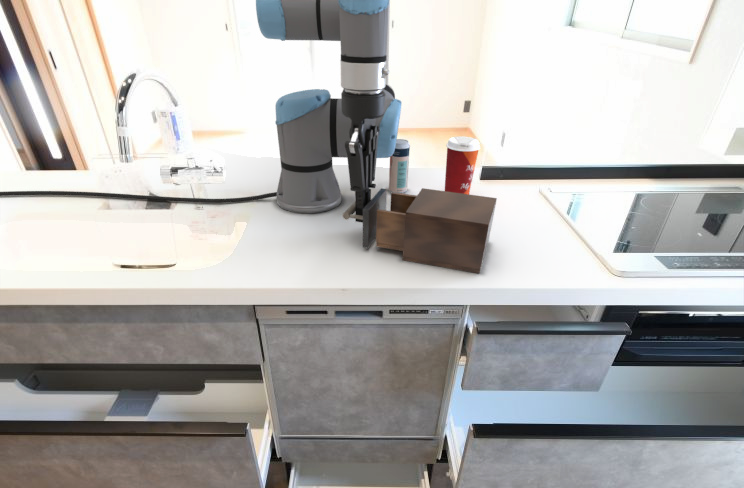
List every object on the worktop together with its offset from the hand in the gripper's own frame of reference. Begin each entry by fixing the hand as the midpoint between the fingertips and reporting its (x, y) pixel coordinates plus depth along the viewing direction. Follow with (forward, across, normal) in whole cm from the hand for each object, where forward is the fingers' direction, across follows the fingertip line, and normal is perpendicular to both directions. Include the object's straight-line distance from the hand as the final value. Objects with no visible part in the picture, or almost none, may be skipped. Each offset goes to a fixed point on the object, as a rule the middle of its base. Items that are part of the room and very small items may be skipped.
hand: (363, 220), depth 90 cm
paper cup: (+4, +26, -15) cm, 31 cm away
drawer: (+3, 0, -6) cm, 7 cm away
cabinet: (+4, 0, -18) cm, 18 cm away
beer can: (+4, +28, 0) cm, 28 cm away
